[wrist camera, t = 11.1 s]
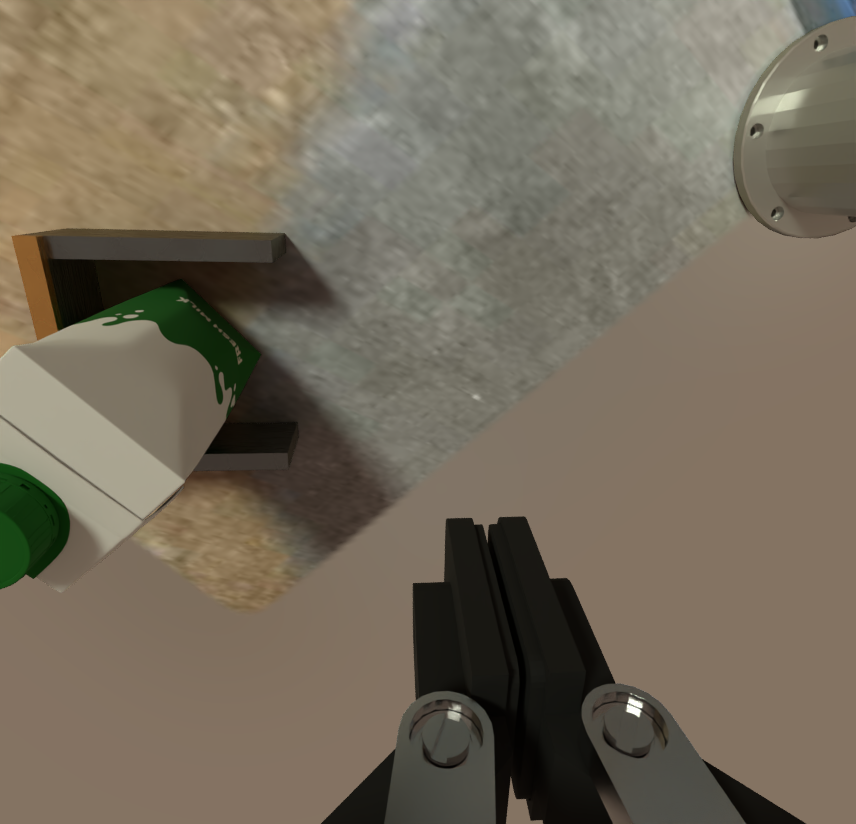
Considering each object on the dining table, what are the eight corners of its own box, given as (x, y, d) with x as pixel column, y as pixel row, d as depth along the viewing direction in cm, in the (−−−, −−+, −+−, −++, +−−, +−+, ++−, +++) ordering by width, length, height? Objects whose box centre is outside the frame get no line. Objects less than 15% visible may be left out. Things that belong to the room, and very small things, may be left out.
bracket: (284, 233, 35) (268, 241, 30) (298, 437, 40) (287, 473, 35) (66, 228, 34) (11, 236, 29) (111, 439, 39) (71, 477, 34)
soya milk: (90, 347, 37) (-196, 510, 18) (181, 255, 35) (-35, 333, 17) (194, 434, 40) (38, 649, 21) (282, 354, 38) (195, 511, 20)
